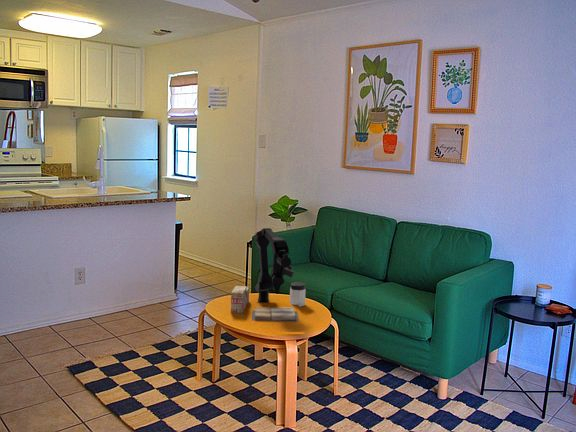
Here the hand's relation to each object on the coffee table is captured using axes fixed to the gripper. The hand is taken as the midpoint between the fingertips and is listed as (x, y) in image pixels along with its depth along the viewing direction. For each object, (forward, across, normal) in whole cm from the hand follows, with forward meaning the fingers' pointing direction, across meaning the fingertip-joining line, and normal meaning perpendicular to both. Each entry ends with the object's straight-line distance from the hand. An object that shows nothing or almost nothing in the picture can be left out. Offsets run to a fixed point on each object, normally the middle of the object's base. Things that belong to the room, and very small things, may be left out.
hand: (276, 291), depth 293 cm
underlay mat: (+11, -9, +1) cm, 15 cm away
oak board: (+10, -9, +7) cm, 16 cm away
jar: (+12, +14, -12) cm, 22 cm away
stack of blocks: (+12, +5, +19) cm, 23 cm away
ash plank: (+10, -9, -3) cm, 14 cm away
